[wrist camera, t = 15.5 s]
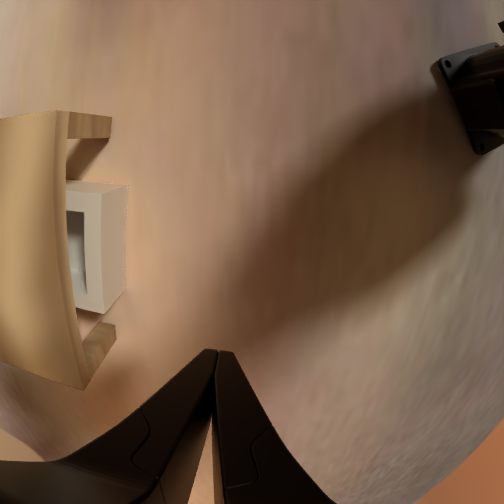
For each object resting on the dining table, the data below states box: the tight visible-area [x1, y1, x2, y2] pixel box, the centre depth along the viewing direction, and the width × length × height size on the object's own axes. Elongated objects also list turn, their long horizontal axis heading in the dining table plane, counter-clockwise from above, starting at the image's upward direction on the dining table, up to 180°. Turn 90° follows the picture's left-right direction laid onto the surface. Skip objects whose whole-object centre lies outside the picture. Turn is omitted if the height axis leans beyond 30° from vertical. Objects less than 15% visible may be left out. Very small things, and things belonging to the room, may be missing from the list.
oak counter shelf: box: [0, 110, 116, 390], centre depth 15 cm, size 12×14×6 cm
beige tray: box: [66, 179, 129, 314], centre depth 16 cm, size 10×6×4 cm, turn 81°
